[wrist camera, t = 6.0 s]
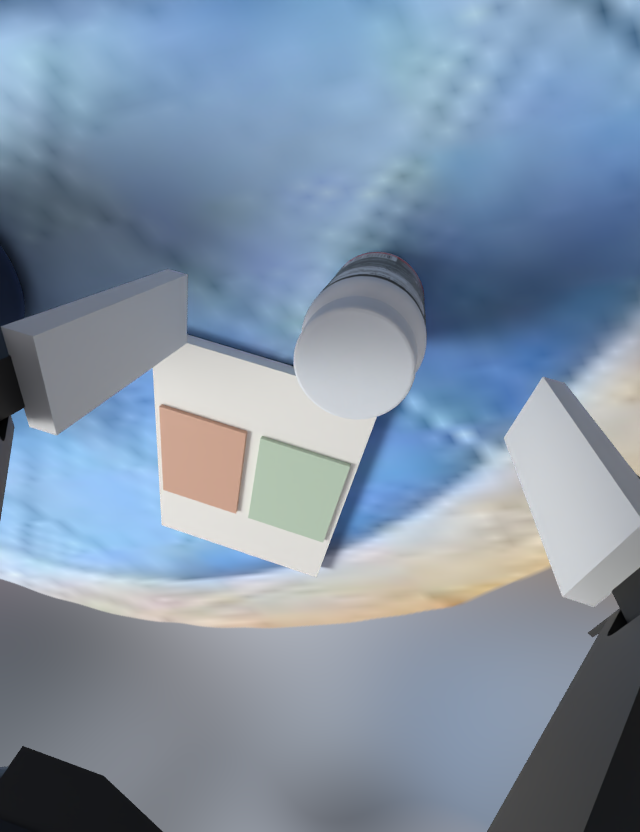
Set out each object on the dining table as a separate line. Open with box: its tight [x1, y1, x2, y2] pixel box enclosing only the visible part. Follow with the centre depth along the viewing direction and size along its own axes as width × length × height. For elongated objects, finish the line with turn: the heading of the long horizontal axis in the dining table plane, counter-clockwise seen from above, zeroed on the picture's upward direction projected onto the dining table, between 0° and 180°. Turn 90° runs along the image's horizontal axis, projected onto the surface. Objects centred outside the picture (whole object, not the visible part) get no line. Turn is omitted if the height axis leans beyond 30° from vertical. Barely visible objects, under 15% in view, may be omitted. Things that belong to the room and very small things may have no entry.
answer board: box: [153, 334, 377, 577], centre depth 26 cm, size 18×14×1 cm
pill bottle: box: [294, 252, 427, 420], centre depth 15 cm, size 5×5×8 cm
